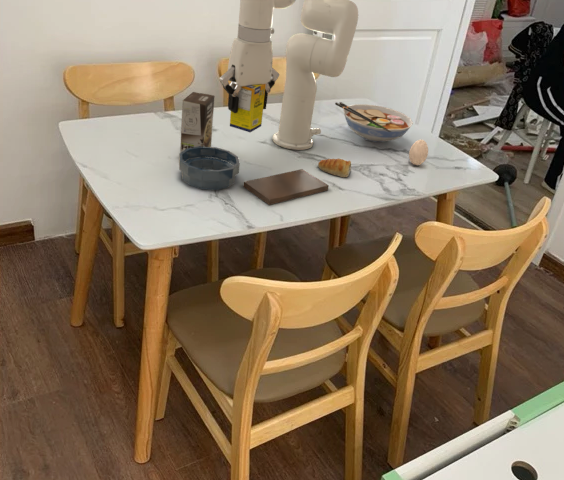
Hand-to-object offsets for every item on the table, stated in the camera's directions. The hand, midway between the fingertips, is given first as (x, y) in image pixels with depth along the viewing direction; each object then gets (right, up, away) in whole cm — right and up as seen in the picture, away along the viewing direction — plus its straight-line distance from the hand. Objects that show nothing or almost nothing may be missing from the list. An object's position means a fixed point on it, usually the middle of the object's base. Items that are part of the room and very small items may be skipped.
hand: (247, 108), depth 148 cm
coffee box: (-16, -7, +22) cm, 28 cm away
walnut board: (+10, -18, +11) cm, 23 cm away
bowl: (-11, -15, +10) cm, 21 cm away
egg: (+49, -7, +37) cm, 62 cm away
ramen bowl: (+38, +5, +51) cm, 64 cm away
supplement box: (-1, -4, +3) cm, 5 cm away
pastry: (+24, -11, +25) cm, 36 cm away
